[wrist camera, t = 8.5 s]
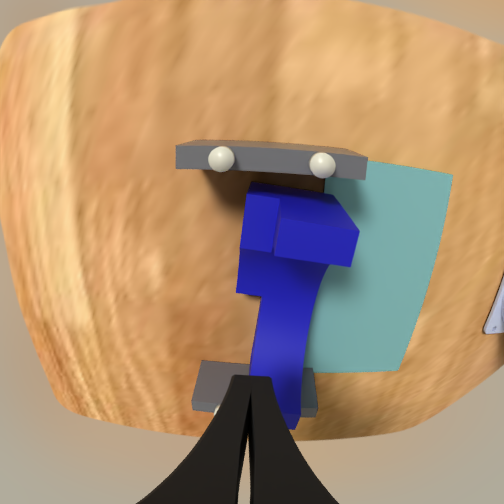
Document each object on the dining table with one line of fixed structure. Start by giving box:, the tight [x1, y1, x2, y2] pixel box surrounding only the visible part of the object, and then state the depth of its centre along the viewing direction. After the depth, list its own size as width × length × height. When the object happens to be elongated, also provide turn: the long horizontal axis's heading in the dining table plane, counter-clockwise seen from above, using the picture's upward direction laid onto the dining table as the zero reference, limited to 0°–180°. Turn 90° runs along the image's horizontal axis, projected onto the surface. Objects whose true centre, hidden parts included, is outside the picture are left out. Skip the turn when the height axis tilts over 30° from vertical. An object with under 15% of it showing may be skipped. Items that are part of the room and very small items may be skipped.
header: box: [176, 140, 368, 417], centre depth 17 cm, size 8×16×5 cm, turn 178°
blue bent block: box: [236, 182, 360, 430], centre depth 17 cm, size 12×4×6 cm, turn 173°
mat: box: [303, 161, 453, 373], centre depth 19 cm, size 8×15×1 cm, turn 178°
